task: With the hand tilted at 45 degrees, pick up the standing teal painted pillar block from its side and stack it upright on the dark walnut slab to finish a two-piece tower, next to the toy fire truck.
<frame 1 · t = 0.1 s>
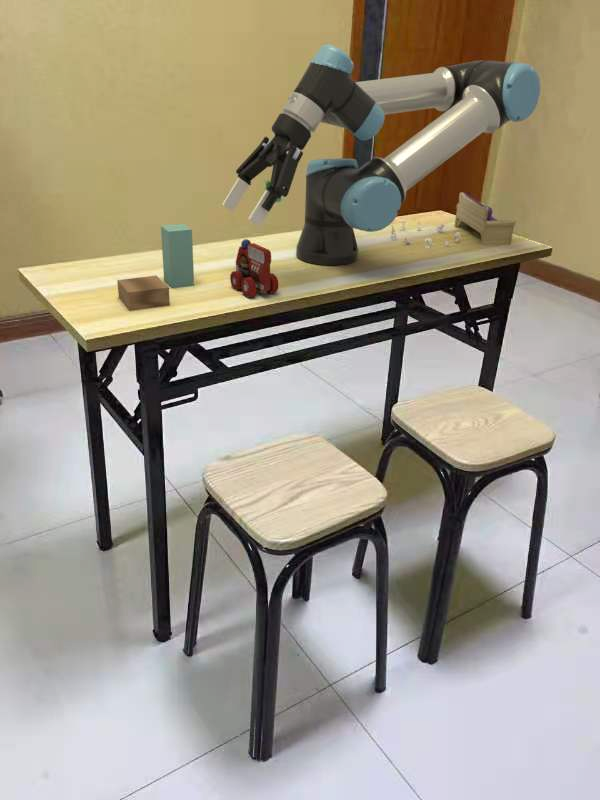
hand: (240, 215, 139), 15 cm above the table, tool tilted 35°, fingers open, 13 cm apart
toy fire truck: (253, 291, 145), on the table
game piece set: (423, 240, 188), on the table
toy sofa: (481, 236, 193), on the table
slab: (144, 302, 137), on the table
pillar: (179, 283, 147), on the table
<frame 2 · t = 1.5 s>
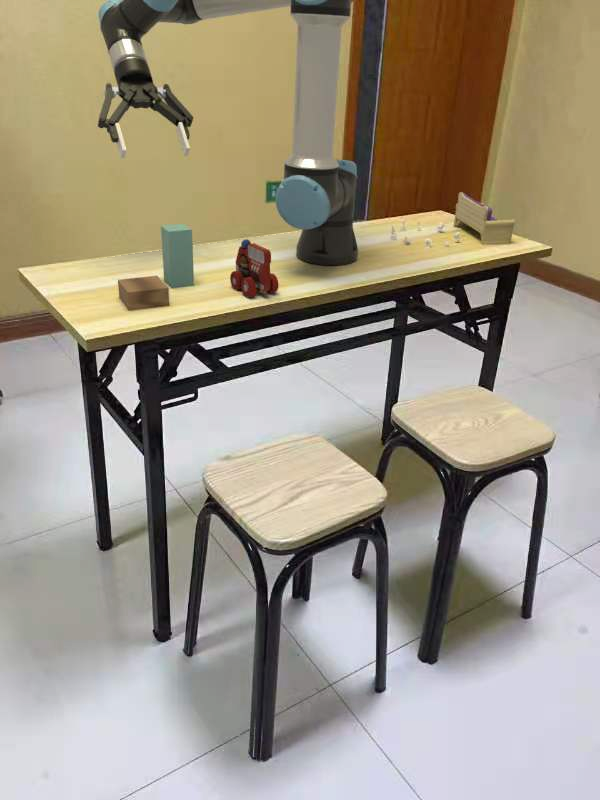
hand: (156, 153, 143), 25 cm above the table, tool tilted 45°, fingers open, 13 cm apart
nothing on the table moved.
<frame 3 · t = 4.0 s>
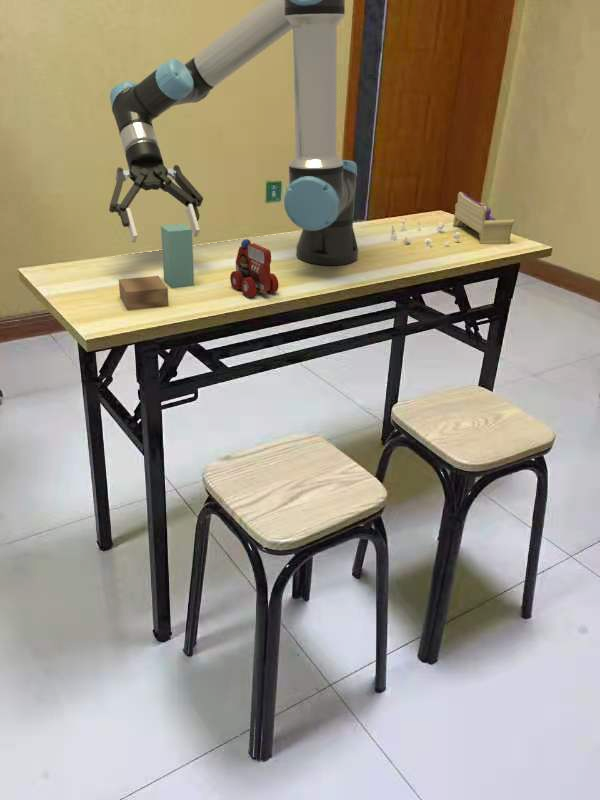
hand: (166, 236, 145), 9 cm above the table, tool tilted 45°, fingers open, 13 cm apart
nothing on the table moved.
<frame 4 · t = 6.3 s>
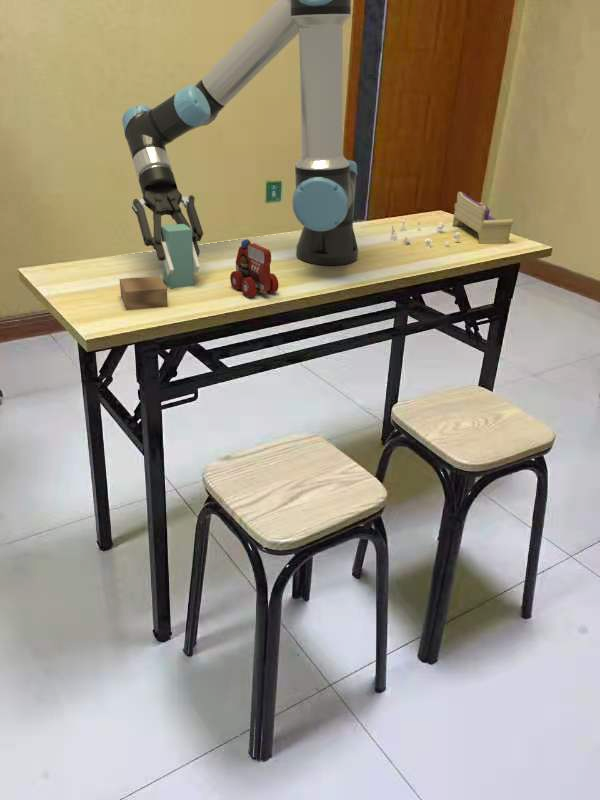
hand: (184, 271, 142), 4 cm above the table, tool tilted 45°, fingers closed on pillar, 5 cm apart
pillar: (178, 283, 147), on the table, touching gripper
everything else where it was.
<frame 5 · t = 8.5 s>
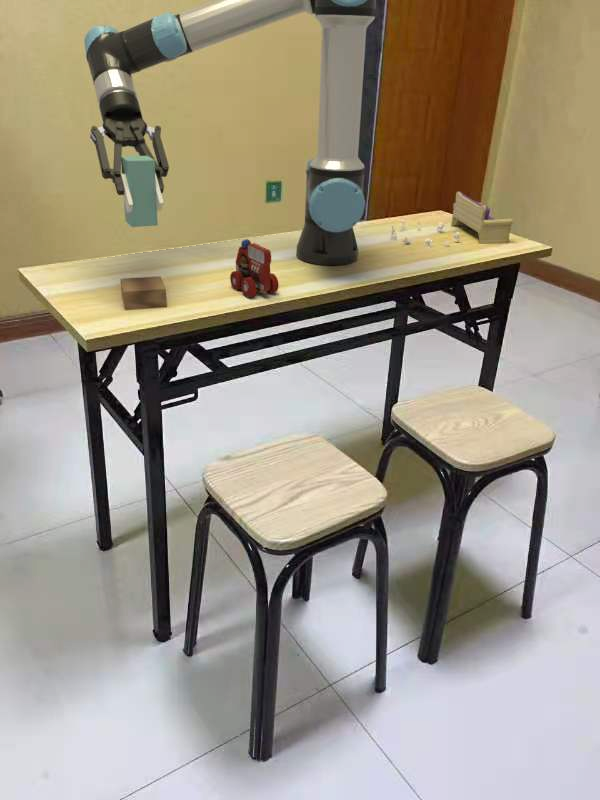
hand: (145, 207, 128), 19 cm above the table, tool tilted 45°, fingers closed on pillar, 5 cm apart
pillar: (141, 223, 133), point 15 cm above the table, touching gripper
when the fingers open (9 cm above the table, at t = 10.7 s): pillar drops 2 cm, resting on slab.
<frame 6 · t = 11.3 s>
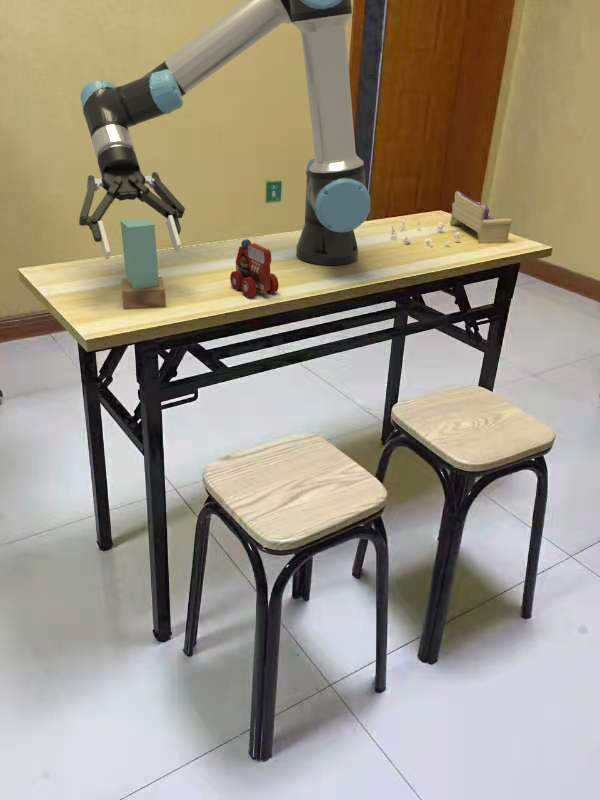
hand: (143, 252, 130), 11 cm above the table, tool tilted 45°, fingers open, 13 cm apart
slab: (144, 303, 137), on the table, touching pillar
pillar: (142, 283, 135), point 4 cm above the table, touching slab
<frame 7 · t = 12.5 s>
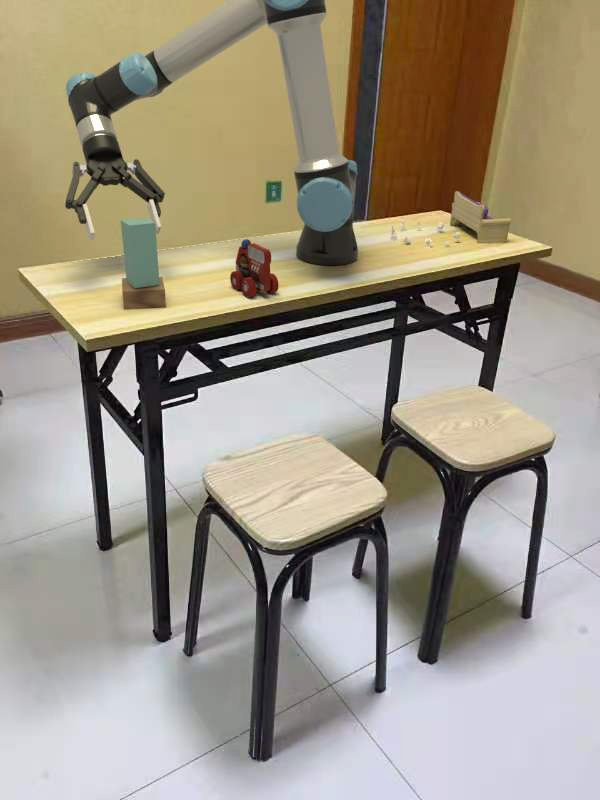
hand: (126, 233, 139), 11 cm above the table, tool tilted 45°, fingers open, 13 cm apart
slab: (144, 303, 137), on the table
pillar: (143, 283, 135), point 4 cm above the table
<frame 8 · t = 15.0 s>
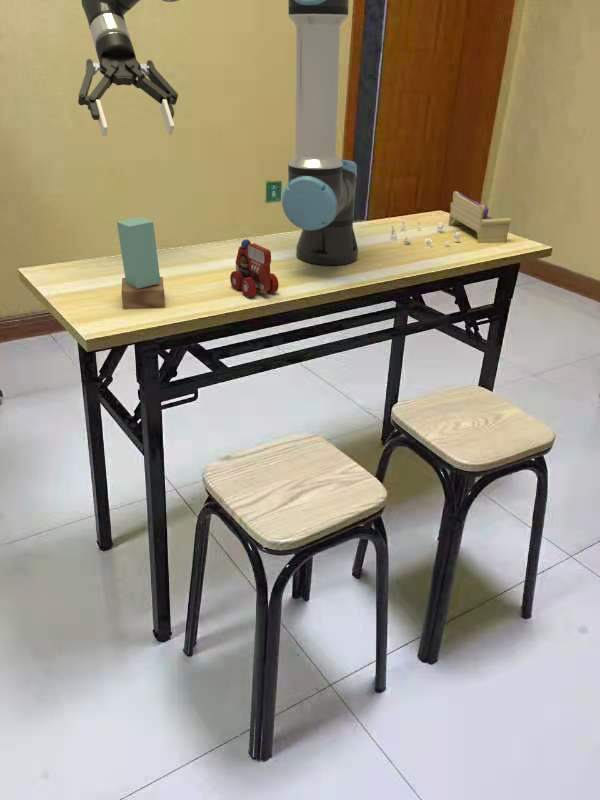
hand: (139, 131, 138), 30 cm above the table, tool tilted 45°, fingers open, 13 cm apart
slab: (144, 303, 137), on the table, touching pillar
pillar: (143, 282, 135), point 4 cm above the table, touching slab
at the end: pillar 0.2 cm off-centre on the slab, point 4.2 cm above the slab's base; pillar tilted 4°; the gripper is holding nothing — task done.
